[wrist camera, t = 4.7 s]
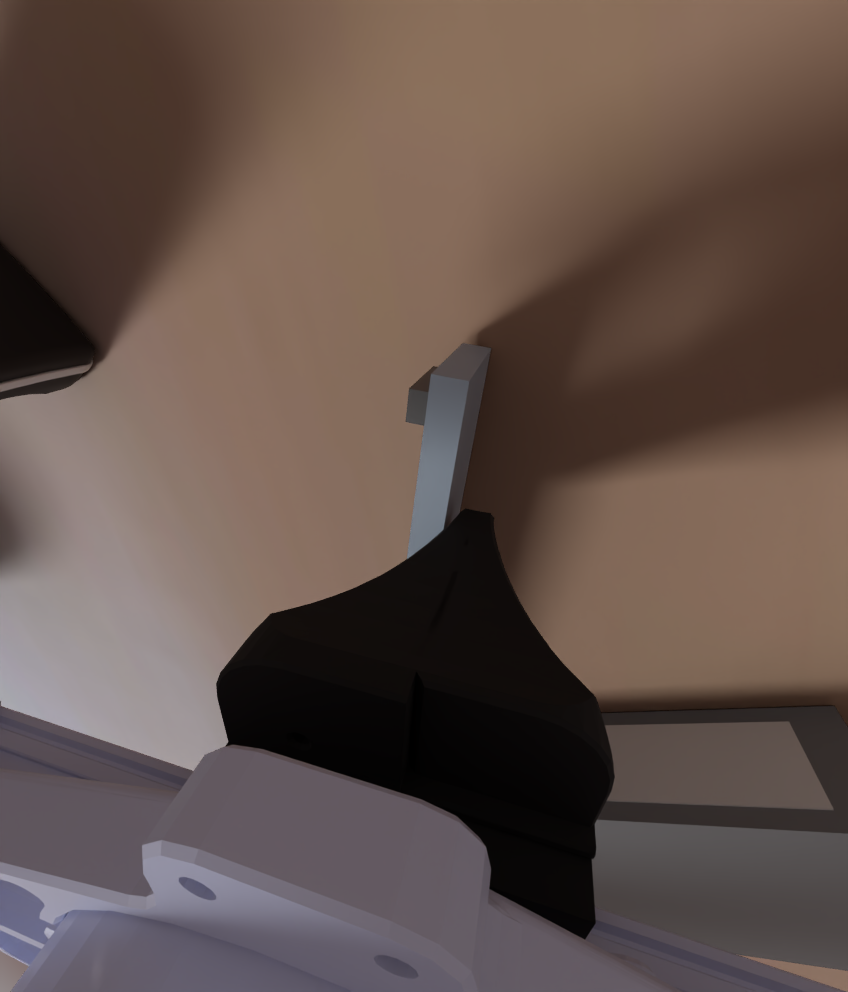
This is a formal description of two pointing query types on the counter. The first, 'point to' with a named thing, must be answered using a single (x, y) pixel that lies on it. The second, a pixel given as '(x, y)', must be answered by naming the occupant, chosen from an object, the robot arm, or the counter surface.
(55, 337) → the battery charger
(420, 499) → the grey bar handle
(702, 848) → the grey rectangular box
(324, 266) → the counter surface
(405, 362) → the counter surface
